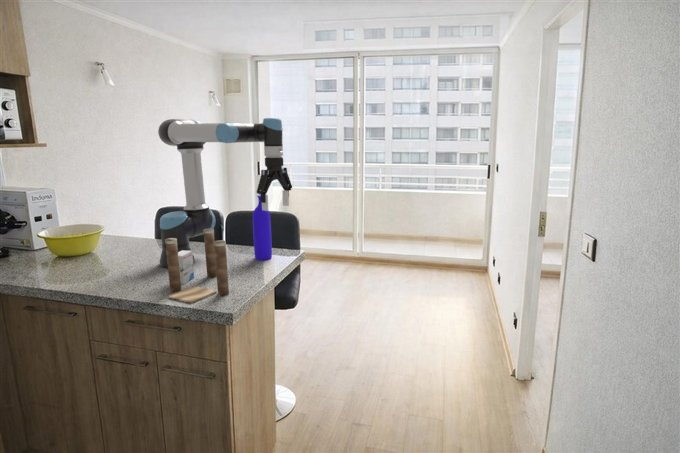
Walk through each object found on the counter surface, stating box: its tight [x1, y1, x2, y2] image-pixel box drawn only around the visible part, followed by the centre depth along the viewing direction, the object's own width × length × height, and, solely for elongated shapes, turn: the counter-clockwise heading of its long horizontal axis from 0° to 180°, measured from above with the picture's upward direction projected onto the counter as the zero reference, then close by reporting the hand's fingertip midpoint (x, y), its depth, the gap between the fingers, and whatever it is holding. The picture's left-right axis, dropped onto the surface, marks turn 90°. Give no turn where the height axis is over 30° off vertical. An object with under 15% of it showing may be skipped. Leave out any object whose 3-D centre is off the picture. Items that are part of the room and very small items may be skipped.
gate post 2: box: [203, 228, 217, 279], centre depth 183 cm, size 4×4×20 cm
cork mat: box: [167, 285, 217, 304], centre depth 163 cm, size 12×12×1 cm
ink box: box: [178, 250, 195, 285], centre depth 178 cm, size 9×5×12 cm, turn 168°
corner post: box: [214, 239, 230, 297], centre depth 162 cm, size 4×4×20 cm
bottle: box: [252, 194, 273, 261], centre depth 208 cm, size 8×8×30 cm
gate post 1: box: [165, 238, 182, 293], centre depth 167 cm, size 4×4×20 cm
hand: (275, 208), depth 186 cm, fingers open, 13 cm apart
